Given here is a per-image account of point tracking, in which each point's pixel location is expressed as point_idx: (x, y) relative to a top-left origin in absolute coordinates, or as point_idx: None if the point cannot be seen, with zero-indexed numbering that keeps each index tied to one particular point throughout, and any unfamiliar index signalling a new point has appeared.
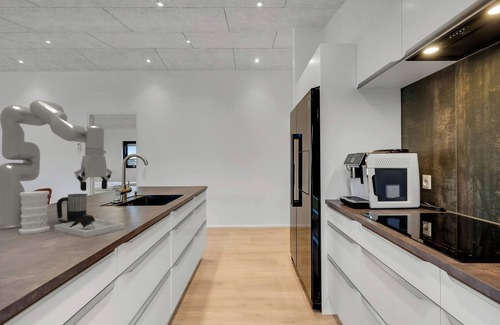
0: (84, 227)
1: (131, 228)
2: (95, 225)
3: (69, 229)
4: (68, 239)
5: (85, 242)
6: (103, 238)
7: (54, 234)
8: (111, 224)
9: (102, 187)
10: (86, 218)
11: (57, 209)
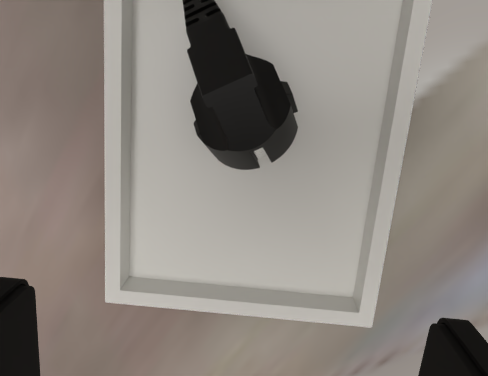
0: (263, 41)
1: (391, 332)
2: (348, 54)
3: (107, 107)
4: (48, 228)
5: (66, 356)
6: (155, 371)
7: (59, 19)
8: (373, 199)
9: (436, 364)
10: (208, 148)
11: None
